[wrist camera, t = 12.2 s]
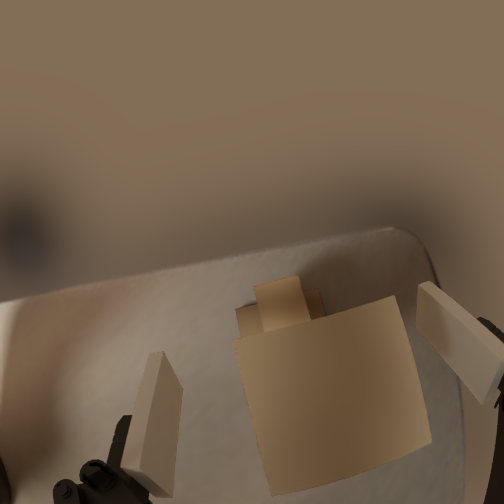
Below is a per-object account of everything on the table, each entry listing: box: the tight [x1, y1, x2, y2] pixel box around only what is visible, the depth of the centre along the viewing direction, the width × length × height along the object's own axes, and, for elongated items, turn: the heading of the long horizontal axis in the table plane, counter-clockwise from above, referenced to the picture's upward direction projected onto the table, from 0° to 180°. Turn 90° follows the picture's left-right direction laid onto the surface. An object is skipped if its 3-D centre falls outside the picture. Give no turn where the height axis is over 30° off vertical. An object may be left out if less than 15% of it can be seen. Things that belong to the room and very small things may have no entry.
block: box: [233, 295, 432, 496], centre depth 13 cm, size 4×4×14 cm
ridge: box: [235, 275, 326, 338], centre depth 22 cm, size 16×8×6 cm, turn 12°
